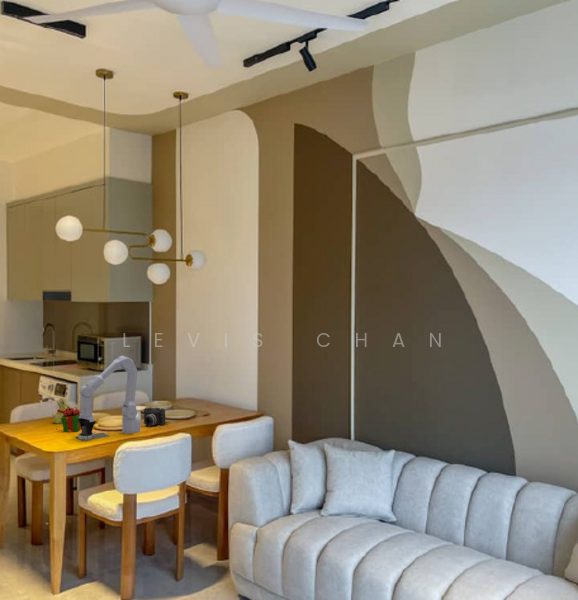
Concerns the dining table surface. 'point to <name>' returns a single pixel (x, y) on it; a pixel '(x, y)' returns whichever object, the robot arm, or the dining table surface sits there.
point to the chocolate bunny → (60, 410)
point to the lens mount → (91, 436)
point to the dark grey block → (84, 431)
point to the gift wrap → (70, 420)
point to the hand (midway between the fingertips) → (86, 432)
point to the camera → (154, 416)
